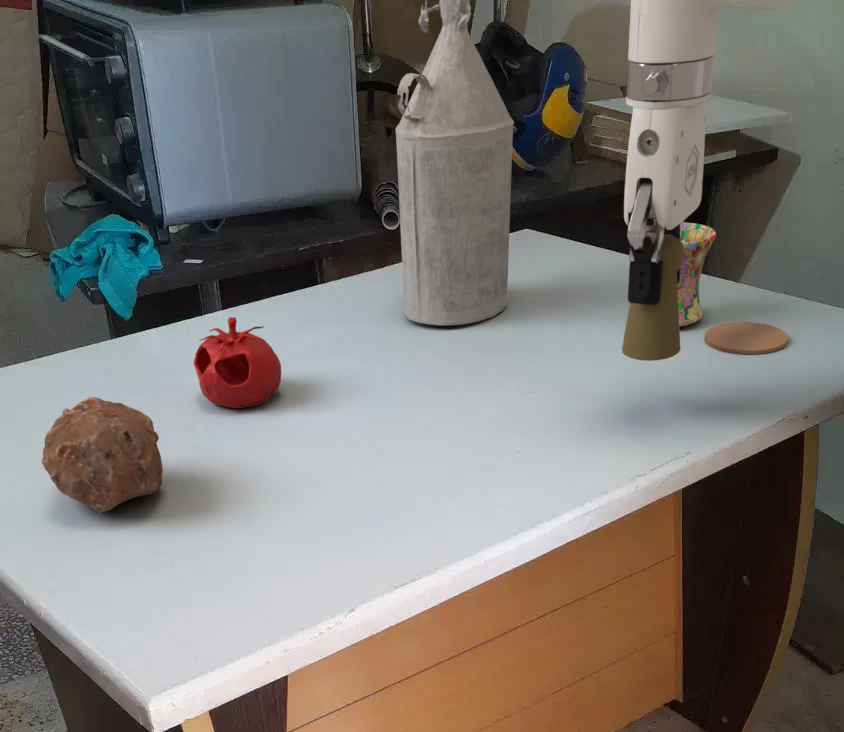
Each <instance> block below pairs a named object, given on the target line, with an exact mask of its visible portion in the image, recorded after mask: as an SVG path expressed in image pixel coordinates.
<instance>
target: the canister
mask: <svg viewBox="0 0 844 732" xmlns="http://www.w3.org/2000/svg"><path fill="white" fill-rule="evenodd" d="M427 1H428V0H425V1H424V5H423V3H421V7H420V16H419V18H418V24H419V27H420V29H421V31H422V32H424V33H426V34H428V30H429V25H430V24H429V20H430V18H429V16H430V15H429V13H432V12H434V11H440V18H441V19H442V21H441V22H442V26H441V30H440V32H439V34H438V37H437V39H436V41H435V44H434V46H433V48H432V50H431V52H430V55H429V57H428V59H427V62H426V63H425V65H424V69H423V71H422V72H421V74H418V73H413V72H410V73H406V74H405V75H404V76H403V77H402V78H401V80H400V82H399V84H398V88H397V93H396V95H397V96H400V98H399V100H398V103H397V108H398V111H399V112H400V114H402V117H401V118H400V121H399V123H398V124H397V126H396V127H395V141H396V161H397V181H398V183H397V184H398V204H399V221H400V222H399V224H400V226H399V227H400V247H401V266H402V287H403V304H404V311H403V312H404V315H405V318H406V319H407V320H410V321H412V322H415V323H419V324H425V325H427V326H438V327H439V326H461V325H469V324H473V323H478V322H482V321H484V320H487V319H489V318H494V317H495V316H496V315H497V314H499V313H501V312H503V311H504V309H505V308H506V306H507V305H508V284H509V283H508V281H509V279H508V278H509V254H510V253H509V252H510V250H509V249H510V226H511V225H510V223H511V195H512V194H511V193H512V164H513V163H512V162H513V141H514V139H513V137H514V136H513V135H514V124H515V121H514V120H513V118H512V117H511V115H510V113H509V112H508V111H509V110H508V109H507V107H506V104H505V103H504V101H503V99H502V97H501V95H500V93H499V91H498V89H497V87H496V84H495V83H494V80H493V79H492V77H491V75H490V73H489V71H488V69H487V67H486V65H485V63H484V61H483V59H482V57H481V55H480V53H479V51H478V49H477V47H476V45H475V43H474V41H473V39H472V37H471V35H470V32H469V31H468V22H469V21H470V18H471V15H472V11H471V8H472V7H471V4H470V3H471V2H470V0H439V3H436V4H435V5H433V6H432V7H428V2H427ZM414 79H415V81H416V83H417V84H416V85H415V86H416V87H415V88H414V91H413V92H412V94H411V96H410V99H409V93H410V90H409V87H411V85H412V82H413V80H414ZM404 94H405V99H404ZM403 101H404V105H405V106H406V108H405V106H404V105H403Z"/></svg>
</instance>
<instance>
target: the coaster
mask: <svg viewBox="0 0 844 732" xmlns="http://www.w3.org/2000/svg"><path fill="white" fill-rule="evenodd" d="M704 342H705V343H706V344H707V345H708V346H709V347H711V348H713V349H715V350H718V351H720V352H725V353H729V354H736V355H762V354H763V355H764V354H770V353H775V352H777V351H779V350H782V349H784V348H785V347H786V346H787V344H788V343H789V334H788V333H787V332H785V331H784V329H781V328H779V327H777V326H773V325H771V324H767V323H762V322H751V321H750V322H749V321H735V322H726V323H721V324H717V325H714V326H711V327H710V328H708V329H707V330H706V331H705V333H704Z"/></svg>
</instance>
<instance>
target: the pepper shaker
mask: <svg viewBox="0 0 844 732" xmlns="http://www.w3.org/2000/svg"><path fill="white" fill-rule="evenodd" d="M647 237H651V240H652V243H654V237H655V234H652V235H647ZM683 259H684V248H683V245H682V242H681V240H680V239H678V238H677V237H675V236H673V235H669V234H664V236H663V243H662V249H661V255H660V260H659V261H663V273H662V286H661V299H660V302H659V303H658V304H657V305H647V304H636V303H630V302H629V305H628V307H629V308H628V313H627V318H626V324H625V329H624V335H623V342H622V347H621V352H622V354H623V355H624V356H625V357H626V358H627V357H628V358H630V359H632V360H636V361H637V360H638V361H646V362H647V361H649V362H650V361H661V360H667V359H670V358H672V357H675V356H677V355H678V354H679V353H680V351H681V335H680V334H681V331H680V327H679V310H678V289H677V271H678V270H679V268H680V267H681V265H682V262H683Z"/></svg>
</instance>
